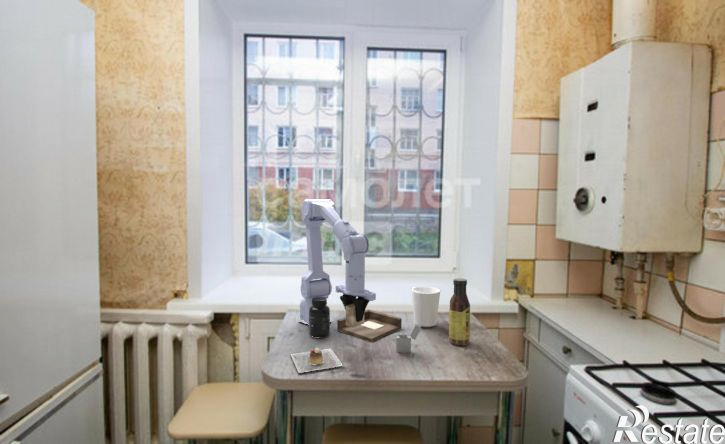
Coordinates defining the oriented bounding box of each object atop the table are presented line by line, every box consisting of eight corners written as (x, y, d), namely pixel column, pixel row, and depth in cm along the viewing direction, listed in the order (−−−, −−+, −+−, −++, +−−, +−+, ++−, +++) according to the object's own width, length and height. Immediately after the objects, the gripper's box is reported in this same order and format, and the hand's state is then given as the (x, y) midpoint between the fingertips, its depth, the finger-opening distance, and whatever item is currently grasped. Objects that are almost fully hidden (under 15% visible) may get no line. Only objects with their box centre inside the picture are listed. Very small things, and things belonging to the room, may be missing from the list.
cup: (405, 322, 137) (406, 287, 136) (428, 319, 141) (429, 285, 140) (421, 332, 128) (422, 294, 127) (445, 327, 132) (446, 291, 131)
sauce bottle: (470, 347, 115) (471, 282, 114) (448, 345, 117) (450, 281, 115) (468, 339, 122) (470, 277, 120) (448, 337, 123) (449, 276, 121)
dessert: (290, 357, 109) (290, 341, 108) (330, 351, 113) (330, 336, 113) (298, 377, 98) (298, 358, 97) (343, 369, 102) (343, 352, 101)
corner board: (337, 330, 129) (337, 320, 129) (368, 318, 141) (368, 309, 141) (371, 341, 119) (371, 330, 119) (401, 328, 131) (401, 318, 131)
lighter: (396, 352, 112) (396, 325, 111) (395, 350, 113) (396, 323, 113) (420, 352, 112) (421, 325, 111) (419, 349, 113) (420, 323, 113)
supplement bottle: (304, 334, 125) (304, 298, 124) (321, 329, 130) (321, 294, 129) (316, 340, 120) (316, 302, 119) (334, 334, 125) (334, 298, 124)
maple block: (345, 325, 114) (345, 305, 114) (356, 321, 118) (357, 301, 118) (353, 327, 112) (353, 307, 112) (364, 323, 116) (364, 303, 116)
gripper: (328, 273, 116) (328, 317, 117) (364, 281, 106) (364, 328, 107) (344, 270, 121) (344, 312, 122) (380, 277, 111) (380, 322, 113)
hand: (354, 319), depth 115 cm, fingers closed on maple block, 3 cm apart
